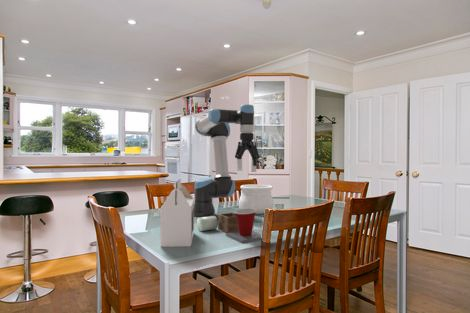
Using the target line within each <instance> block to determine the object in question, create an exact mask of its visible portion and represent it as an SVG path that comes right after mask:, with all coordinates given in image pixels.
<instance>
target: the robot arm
mask: <svg viewBox="0 0 470 313" xmlns="http://www.w3.org/2000/svg"><path fill="white" fill-rule="evenodd" d="M239 108H240V109H239V110H236V109H235V110H234V109H219V108H211V109H210V110H209V112H208V115H207V116H205V117H204V118H200V119H198V120H197V121H196V123H195V127H194V128H195V130H196V132H197V133H198V134H199V135H201V136H203V137H210V140H211V141H212V142H213V153H214V154H213V156H214V168H215V176H214V177H213V178H209V177H206V178H200V179H197V180H195V182H194V217H198V218H201V217H209V216H215V215H216V210H215V207H214V204H213V199H217V198H218V199H219V198H220V199H221V198H231V197H232V196H234V193H235V190H236V183H235V180H234V179H232V176H231V175H230V174H229V165H228V151H227V150H228V149H227V140H228V138H229V137H230V135H231V127H230V124H235V125H240V126H239V128H240V129H239V130H240V133H239V139H240V140H241V141H238V143H237V147H236V151H235V155H234V158H236V160H237V161H236V163H237V164H236V165H237V171H238V172H239V171H243V155H244V154H245V151H248V153H249V154H250V156H251V165H250V166H251V168H250V169H251V171H250V172H251V173H257V166H258V163H257V162H258V160H259V159H260V154H259V150H258V147H257V141H255V140H254V139H255V136H254V132H255V128H254V127H255V126H254V121H255V108H254V105H253V104H241V105H240V107H239ZM253 140H254V141H253Z"/></svg>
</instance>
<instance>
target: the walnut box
mask: <svg viewBox="0 0 470 313" xmlns="http://www.w3.org/2000/svg"><path fill="white" fill-rule="evenodd" d="M217 220H218V227H217V230H219V231H221V232H223V233H225V234H226V233H232V232H238V231H239V228H238V222H237V217H236V214H235V212H227V213H220V214H219V213H218V215H217Z"/></svg>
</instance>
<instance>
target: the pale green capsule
mask: <svg viewBox="0 0 470 313" xmlns="http://www.w3.org/2000/svg"><path fill="white" fill-rule="evenodd" d="M196 227H197V230H198V231H199V232H205V231H213V230H218V217H217V216H215V215H213V216H208V217H198V218H197V220H196Z"/></svg>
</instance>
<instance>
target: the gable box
mask: <svg viewBox="0 0 470 313" xmlns="http://www.w3.org/2000/svg"><path fill="white" fill-rule="evenodd" d="M172 187H173V190H171V192H170V193H169V194H168V196H167V198H165V200H164V202H163V204H162V205H161V206H160V247H161V248H169V247H172V248H174V247H175V248H176V247H181V248H182V247H184V248H185V247H191V246H192V244H193V239H194V234H195V216H194V203H195V198H193V196H192V195H191V193H190V191H189V190H188V189H187V187H186V185H184V184H182V179H181V178H179V180H177V181H176V182H174V183H173V184H172Z"/></svg>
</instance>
